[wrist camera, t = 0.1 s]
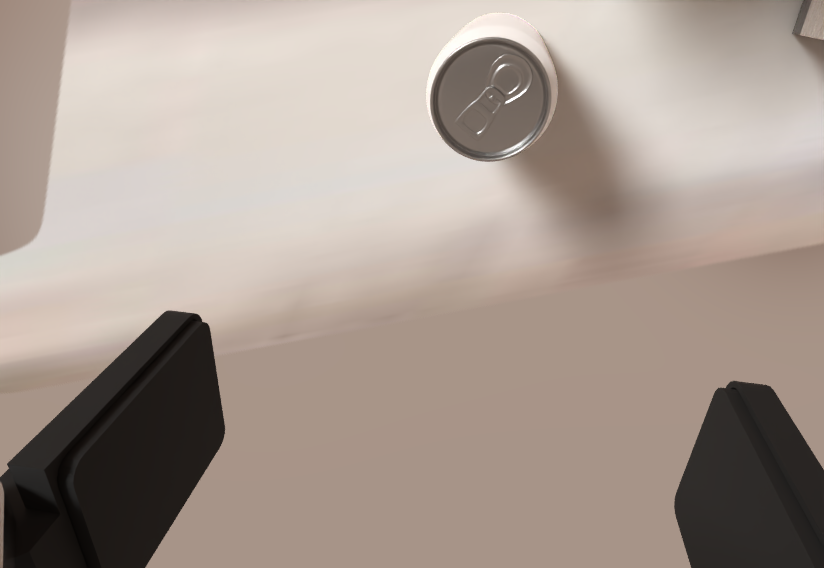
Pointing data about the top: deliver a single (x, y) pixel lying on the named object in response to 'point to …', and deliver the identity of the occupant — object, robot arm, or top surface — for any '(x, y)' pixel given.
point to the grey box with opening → (811, 19)
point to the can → (492, 88)
